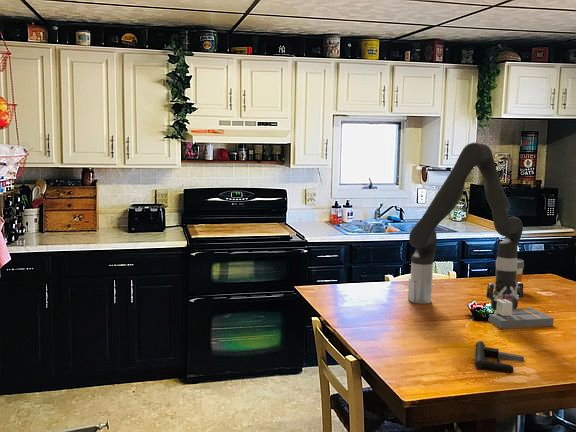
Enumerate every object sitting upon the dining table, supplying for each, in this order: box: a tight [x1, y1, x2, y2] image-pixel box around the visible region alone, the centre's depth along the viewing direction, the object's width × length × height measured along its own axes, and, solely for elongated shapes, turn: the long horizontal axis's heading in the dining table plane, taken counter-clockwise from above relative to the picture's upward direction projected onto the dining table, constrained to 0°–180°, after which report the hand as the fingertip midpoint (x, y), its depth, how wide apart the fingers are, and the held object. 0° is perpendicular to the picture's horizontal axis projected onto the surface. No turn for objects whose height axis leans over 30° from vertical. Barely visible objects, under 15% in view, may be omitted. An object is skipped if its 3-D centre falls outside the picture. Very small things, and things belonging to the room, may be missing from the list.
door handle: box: [473, 340, 525, 374], centre depth 195 cm, size 3×20×16 cm
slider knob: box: [495, 299, 513, 316], centre depth 234 cm, size 4×5×5 cm
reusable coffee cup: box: [494, 258, 525, 293], centre depth 281 cm, size 13×13×15 cm
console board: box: [487, 307, 555, 330], centre depth 236 cm, size 22×14×3 cm, turn 101°
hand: (504, 309), depth 234 cm, fingers open, 8 cm apart
